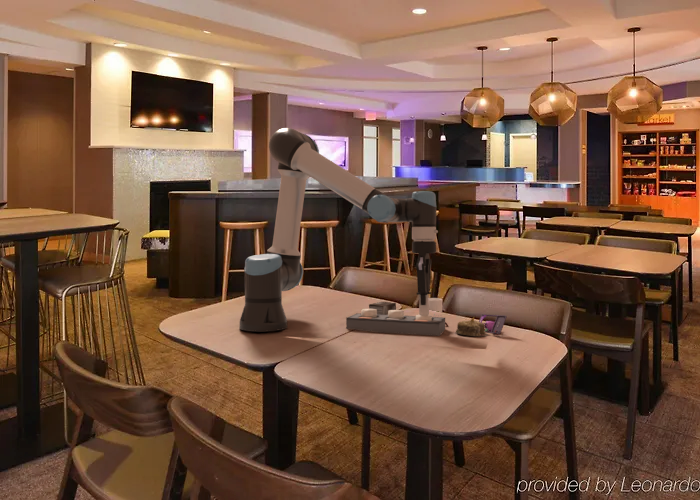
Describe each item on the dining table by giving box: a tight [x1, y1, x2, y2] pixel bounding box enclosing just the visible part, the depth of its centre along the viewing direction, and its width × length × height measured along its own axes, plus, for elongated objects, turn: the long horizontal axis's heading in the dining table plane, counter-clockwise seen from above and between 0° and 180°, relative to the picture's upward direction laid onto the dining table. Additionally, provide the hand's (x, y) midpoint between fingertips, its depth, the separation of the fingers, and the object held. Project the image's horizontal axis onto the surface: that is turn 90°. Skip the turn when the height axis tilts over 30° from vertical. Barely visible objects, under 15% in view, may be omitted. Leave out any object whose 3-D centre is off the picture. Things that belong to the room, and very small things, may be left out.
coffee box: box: [368, 301, 397, 315], centre depth 199 cm, size 9×6×16 cm
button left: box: [361, 308, 377, 318], centre depth 181 cm, size 5×5×3 cm
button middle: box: [387, 309, 405, 320], centre depth 178 cm, size 5×5×3 cm
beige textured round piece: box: [455, 317, 489, 337], centre depth 171 cm, size 10×10×5 cm
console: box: [345, 312, 446, 337], centre depth 178 cm, size 30×11×4 cm, turn 71°
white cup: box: [429, 297, 443, 313], centre depth 206 cm, size 8×8×10 cm
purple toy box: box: [478, 313, 508, 335], centre depth 177 cm, size 7×5×9 cm
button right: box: [415, 314, 433, 321], centre depth 175 cm, size 5×5×3 cm
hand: (423, 315), depth 175 cm, fingers closed
